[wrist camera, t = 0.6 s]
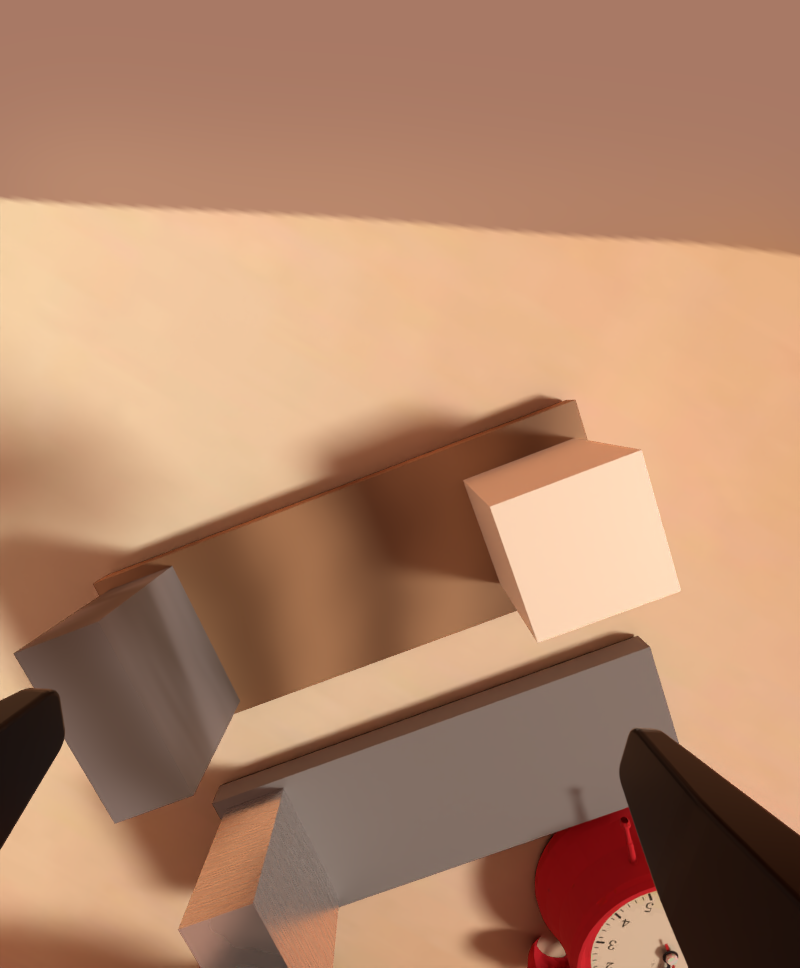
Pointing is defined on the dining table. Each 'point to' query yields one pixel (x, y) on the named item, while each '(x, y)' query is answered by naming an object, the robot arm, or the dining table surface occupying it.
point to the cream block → (574, 534)
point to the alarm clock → (602, 900)
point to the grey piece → (415, 804)
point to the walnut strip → (274, 612)
